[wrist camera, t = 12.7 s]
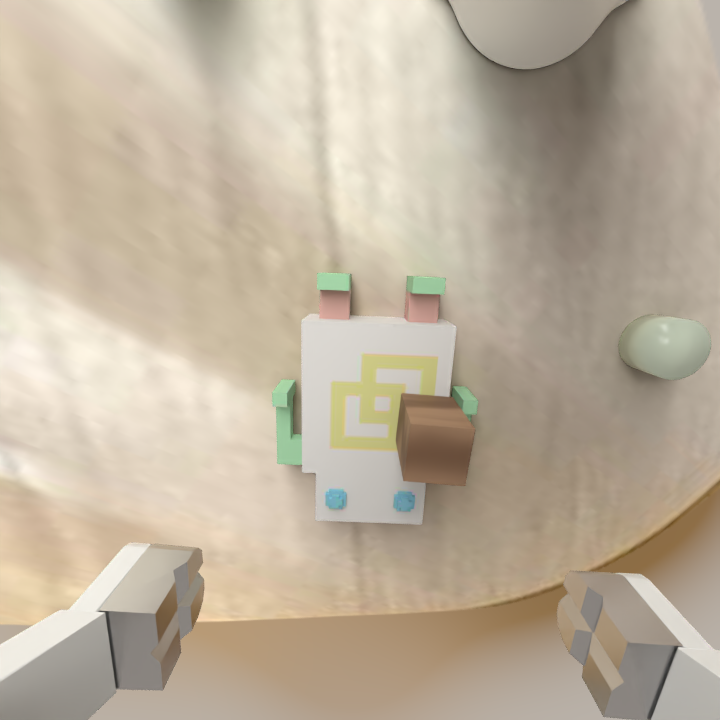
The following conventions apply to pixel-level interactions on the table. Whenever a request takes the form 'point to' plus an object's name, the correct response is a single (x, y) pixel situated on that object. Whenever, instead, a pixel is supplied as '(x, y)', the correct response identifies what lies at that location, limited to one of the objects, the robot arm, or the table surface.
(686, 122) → the table surface
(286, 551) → the table surface
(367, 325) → the decorative block
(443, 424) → the walnut block
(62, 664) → the robot arm
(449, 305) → the table surface
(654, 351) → the sage rounded block
